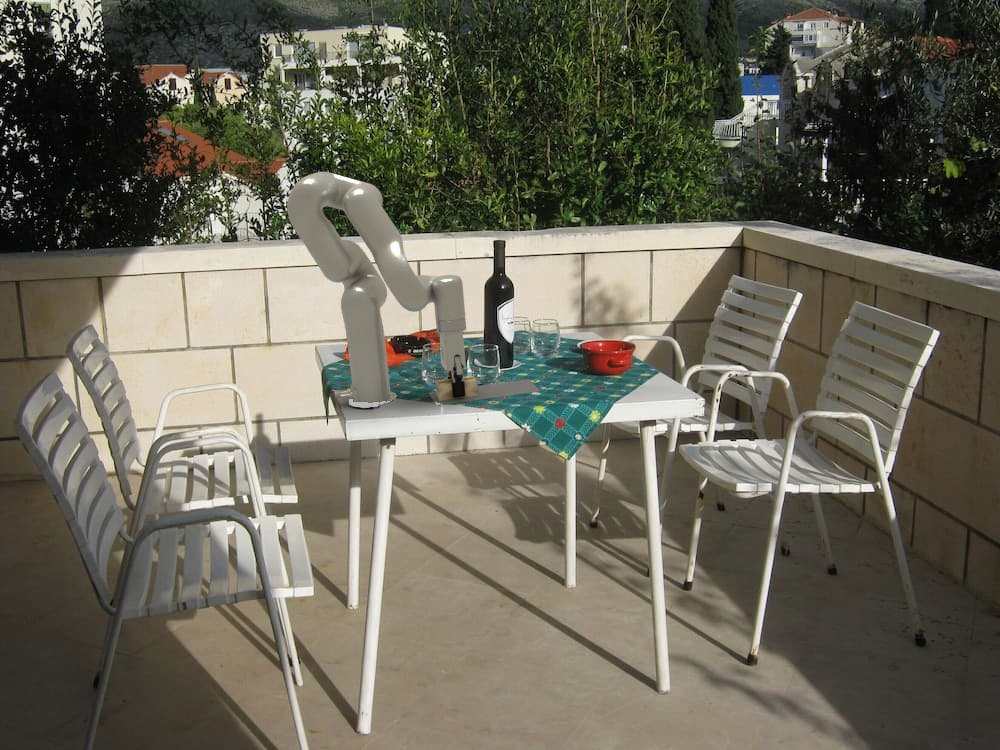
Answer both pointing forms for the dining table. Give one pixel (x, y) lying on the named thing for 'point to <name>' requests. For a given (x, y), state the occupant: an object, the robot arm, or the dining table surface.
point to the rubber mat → (494, 391)
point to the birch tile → (446, 388)
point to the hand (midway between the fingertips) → (457, 393)
